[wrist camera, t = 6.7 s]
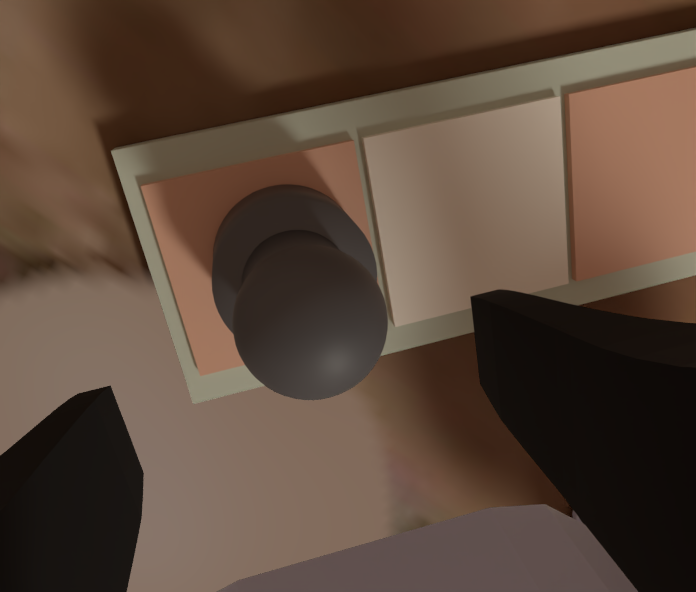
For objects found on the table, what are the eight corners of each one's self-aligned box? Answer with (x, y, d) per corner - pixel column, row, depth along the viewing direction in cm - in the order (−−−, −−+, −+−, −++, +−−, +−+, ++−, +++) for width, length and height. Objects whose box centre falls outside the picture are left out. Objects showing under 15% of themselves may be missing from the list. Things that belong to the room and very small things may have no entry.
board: (876, 218, 24) (905, 225, 23) (194, 392, 21) (192, 408, 20) (914, -18, 21) (948, -22, 20) (115, 147, 18) (109, 152, 17)
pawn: (369, 306, 20) (441, 418, 14) (233, 339, 20) (240, 474, 13) (344, 169, 19) (413, 223, 12) (195, 203, 18) (179, 278, 11)
